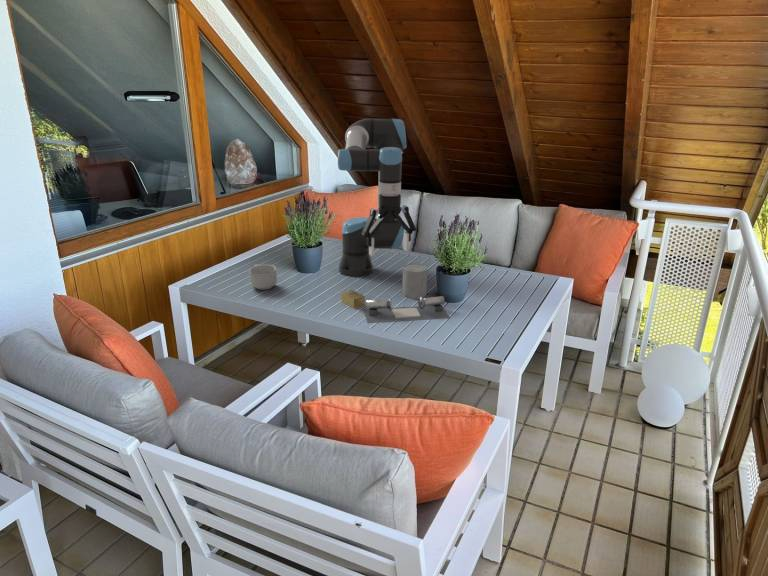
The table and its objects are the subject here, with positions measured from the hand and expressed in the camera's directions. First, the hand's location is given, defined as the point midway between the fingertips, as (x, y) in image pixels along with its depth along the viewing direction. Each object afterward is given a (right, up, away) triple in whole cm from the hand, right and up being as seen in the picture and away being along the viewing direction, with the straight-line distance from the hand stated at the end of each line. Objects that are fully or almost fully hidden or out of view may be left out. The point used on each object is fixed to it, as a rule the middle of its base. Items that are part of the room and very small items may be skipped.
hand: (388, 252), depth 206 cm
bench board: (+6, -23, +4) cm, 24 cm away
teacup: (-51, -12, +31) cm, 61 cm away
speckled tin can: (+10, -16, +22) cm, 29 cm away
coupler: (-13, -20, +12) cm, 27 cm away
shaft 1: (-4, -22, +4) cm, 22 cm away
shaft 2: (+16, -21, +7) cm, 27 cm away
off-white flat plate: (+6, -22, +4) cm, 23 cm away
